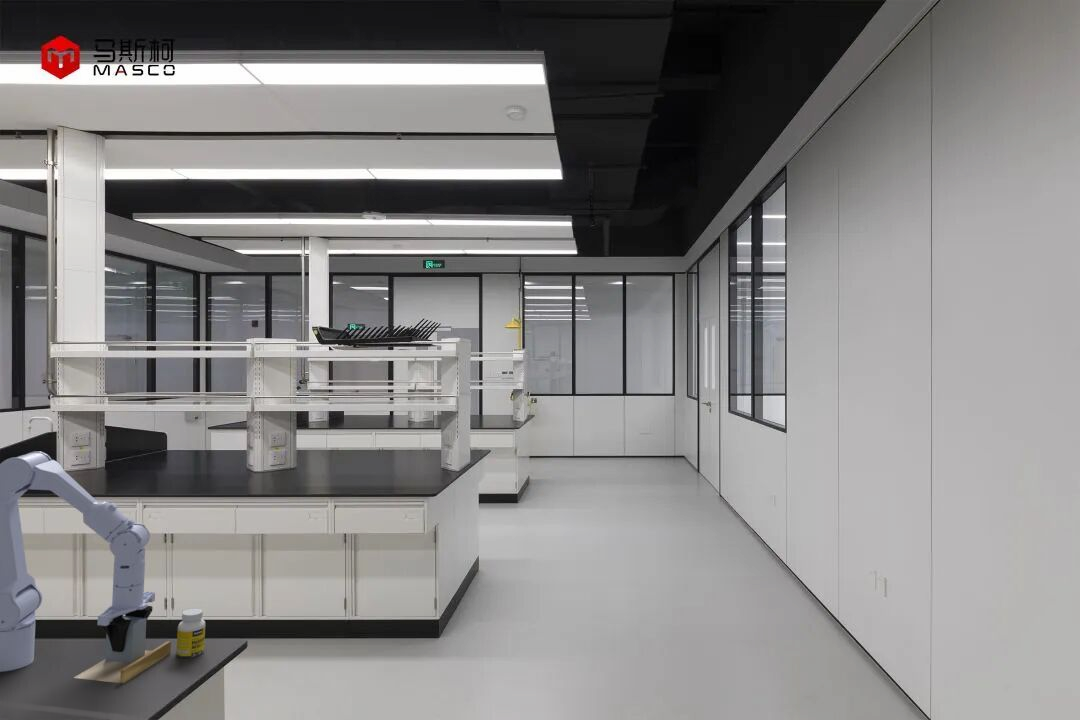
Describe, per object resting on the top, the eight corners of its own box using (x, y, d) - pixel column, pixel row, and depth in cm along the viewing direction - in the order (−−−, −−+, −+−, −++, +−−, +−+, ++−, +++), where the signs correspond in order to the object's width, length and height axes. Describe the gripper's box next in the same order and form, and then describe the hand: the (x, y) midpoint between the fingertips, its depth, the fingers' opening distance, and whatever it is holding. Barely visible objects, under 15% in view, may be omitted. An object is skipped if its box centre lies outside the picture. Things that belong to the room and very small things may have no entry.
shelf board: (72, 681, 134) (73, 665, 134) (124, 651, 148) (124, 636, 148) (123, 687, 133) (124, 670, 133) (170, 656, 147) (171, 641, 147)
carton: (131, 663, 142) (133, 625, 142) (105, 660, 142) (106, 622, 142) (145, 654, 146) (147, 617, 146) (119, 651, 146) (121, 615, 146)
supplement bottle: (192, 663, 144) (194, 617, 144) (170, 660, 146) (172, 614, 145) (209, 652, 150) (211, 608, 150) (188, 649, 151) (190, 605, 151)
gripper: (121, 596, 136) (118, 663, 136) (168, 573, 151) (166, 634, 151) (89, 593, 137) (86, 659, 137) (139, 571, 151) (136, 631, 152)
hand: (126, 646), depth 144 cm, fingers closed on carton, 4 cm apart
